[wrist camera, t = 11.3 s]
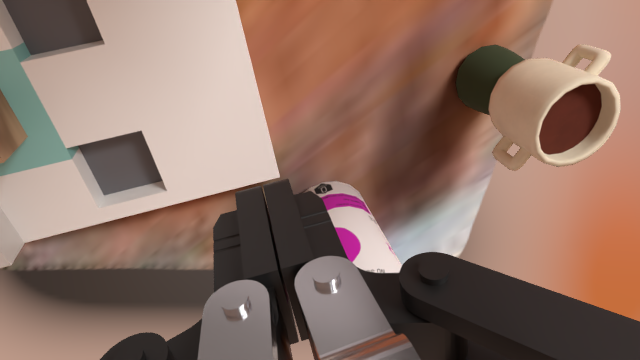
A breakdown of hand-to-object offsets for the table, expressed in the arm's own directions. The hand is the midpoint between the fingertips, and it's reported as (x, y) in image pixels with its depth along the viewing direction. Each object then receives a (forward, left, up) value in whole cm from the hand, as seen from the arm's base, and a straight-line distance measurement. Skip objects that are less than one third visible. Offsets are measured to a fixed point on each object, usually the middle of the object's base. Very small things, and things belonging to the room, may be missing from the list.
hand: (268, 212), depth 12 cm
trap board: (+2, -11, -27) cm, 29 cm away
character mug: (+9, +23, -27) cm, 37 cm away
